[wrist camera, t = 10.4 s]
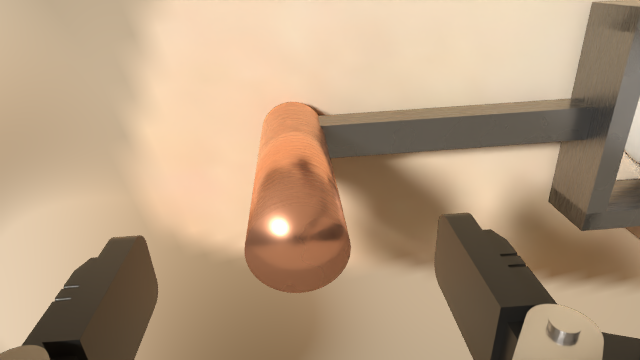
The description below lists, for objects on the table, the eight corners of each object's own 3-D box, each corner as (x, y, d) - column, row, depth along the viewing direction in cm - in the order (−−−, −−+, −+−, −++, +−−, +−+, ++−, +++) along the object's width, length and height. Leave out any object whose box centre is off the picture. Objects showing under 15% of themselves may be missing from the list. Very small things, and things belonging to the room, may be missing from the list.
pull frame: (249, 21, 19) (216, 69, 10) (809, -11, 20) (1243, 4, 11) (272, 223, 23) (264, 381, 14) (724, 187, 24) (979, 313, 15)
